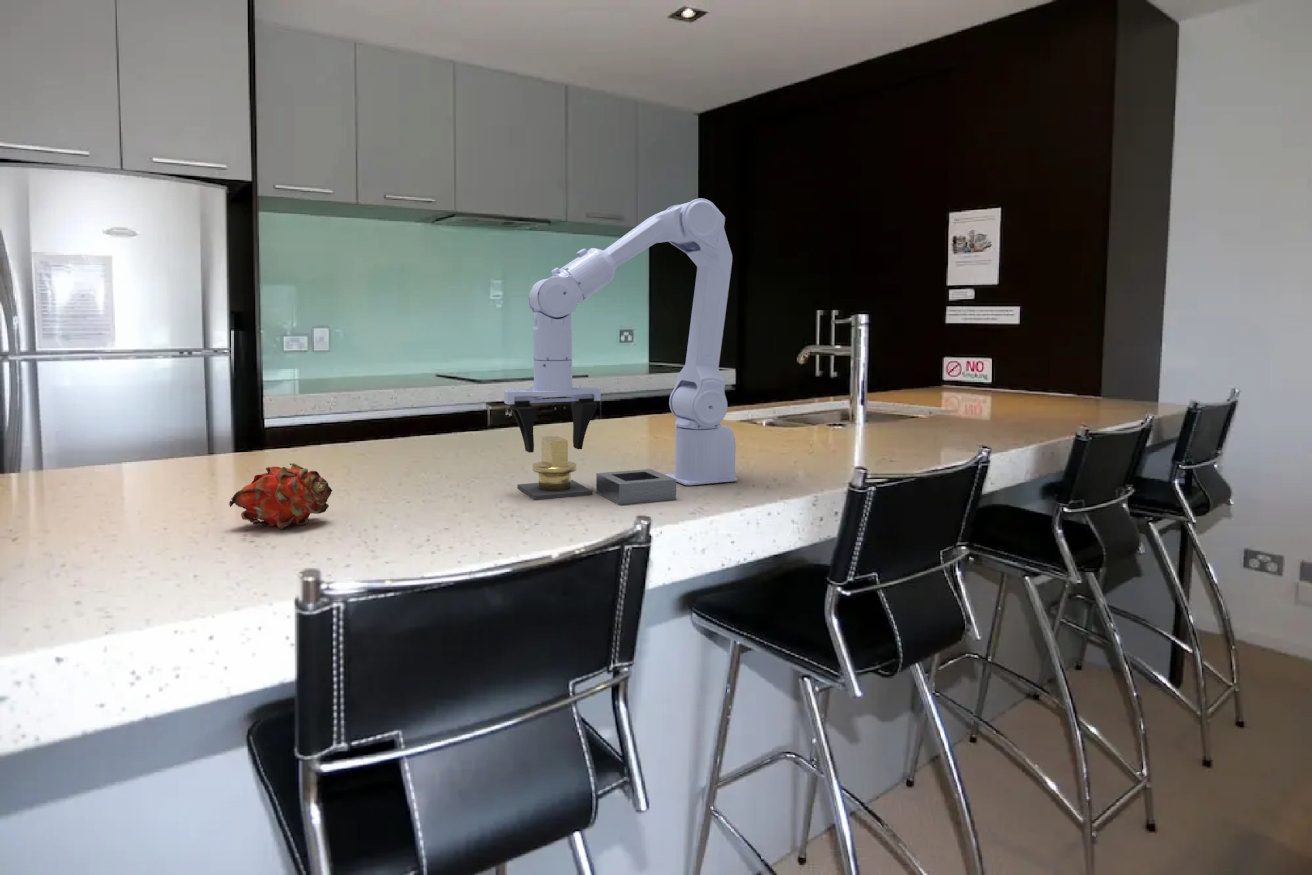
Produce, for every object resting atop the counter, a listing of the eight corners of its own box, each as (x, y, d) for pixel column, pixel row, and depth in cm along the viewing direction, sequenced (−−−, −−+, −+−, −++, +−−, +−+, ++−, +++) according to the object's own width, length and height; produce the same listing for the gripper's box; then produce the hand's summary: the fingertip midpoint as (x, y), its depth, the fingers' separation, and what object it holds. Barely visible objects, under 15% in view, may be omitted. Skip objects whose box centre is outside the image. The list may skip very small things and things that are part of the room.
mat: (572, 483, 134) (572, 479, 134) (592, 494, 126) (592, 490, 126) (517, 488, 131) (517, 484, 131) (534, 499, 123) (534, 495, 123)
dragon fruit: (341, 534, 109) (241, 556, 105) (334, 486, 115) (238, 505, 111) (330, 491, 103) (223, 512, 99) (323, 443, 109) (221, 461, 105)
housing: (650, 487, 132) (650, 468, 131) (676, 499, 123) (676, 479, 123) (596, 492, 128) (596, 473, 127) (619, 505, 120) (619, 484, 119)
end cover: (568, 482, 133) (567, 434, 131) (582, 490, 127) (582, 440, 126) (527, 485, 130) (526, 436, 129) (540, 493, 124) (539, 442, 123)
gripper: (589, 357, 132) (589, 443, 134) (498, 359, 126) (500, 448, 128) (605, 360, 126) (605, 449, 128) (510, 361, 120) (512, 456, 122)
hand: (553, 449), depth 128 cm, fingers open, 7 cm apart
